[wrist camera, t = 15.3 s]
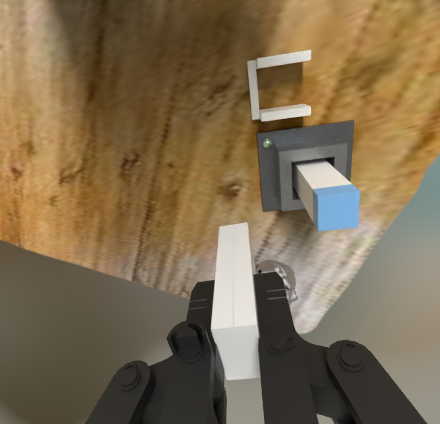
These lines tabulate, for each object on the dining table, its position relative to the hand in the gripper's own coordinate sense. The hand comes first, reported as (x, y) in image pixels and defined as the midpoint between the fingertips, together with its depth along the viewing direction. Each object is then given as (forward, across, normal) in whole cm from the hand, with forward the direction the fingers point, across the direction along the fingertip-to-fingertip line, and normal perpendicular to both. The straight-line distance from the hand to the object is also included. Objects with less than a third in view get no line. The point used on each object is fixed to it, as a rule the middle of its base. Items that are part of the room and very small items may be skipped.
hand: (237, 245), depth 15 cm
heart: (+27, +1, -24) cm, 36 cm away
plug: (+27, +9, -7) cm, 29 cm away
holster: (+28, +7, +5) cm, 29 cm away
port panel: (+27, +9, -6) cm, 30 cm away
